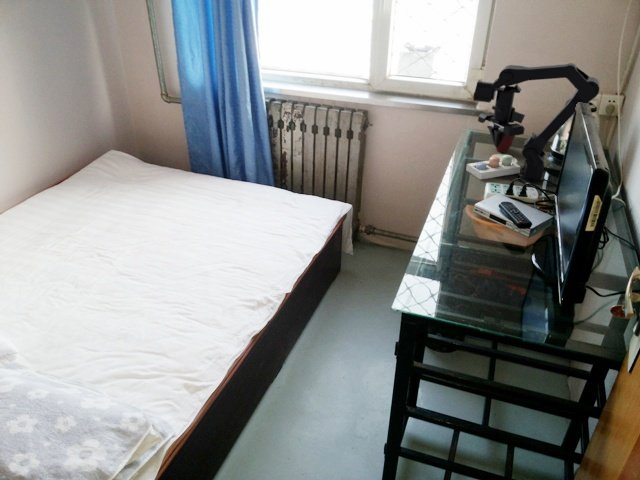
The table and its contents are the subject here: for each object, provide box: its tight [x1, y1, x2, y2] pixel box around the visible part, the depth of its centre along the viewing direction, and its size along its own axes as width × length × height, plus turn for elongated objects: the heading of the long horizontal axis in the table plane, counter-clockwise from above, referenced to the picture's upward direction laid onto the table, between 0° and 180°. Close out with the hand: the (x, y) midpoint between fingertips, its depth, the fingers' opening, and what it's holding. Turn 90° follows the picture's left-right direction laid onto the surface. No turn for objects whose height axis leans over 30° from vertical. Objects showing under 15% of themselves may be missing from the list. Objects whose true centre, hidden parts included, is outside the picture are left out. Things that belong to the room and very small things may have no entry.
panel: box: [465, 160, 521, 180], centre depth 192 cm, size 9×17×2 cm, turn 110°
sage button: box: [501, 154, 513, 166], centre depth 192 cm, size 4×4×3 cm
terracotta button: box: [488, 156, 501, 168], centre depth 190 cm, size 4×4×3 cm
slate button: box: [476, 161, 487, 170], centre depth 189 cm, size 4×4×3 cm
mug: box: [495, 135, 516, 153], centre depth 209 cm, size 11×8×10 cm
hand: (496, 146), depth 187 cm, fingers closed
